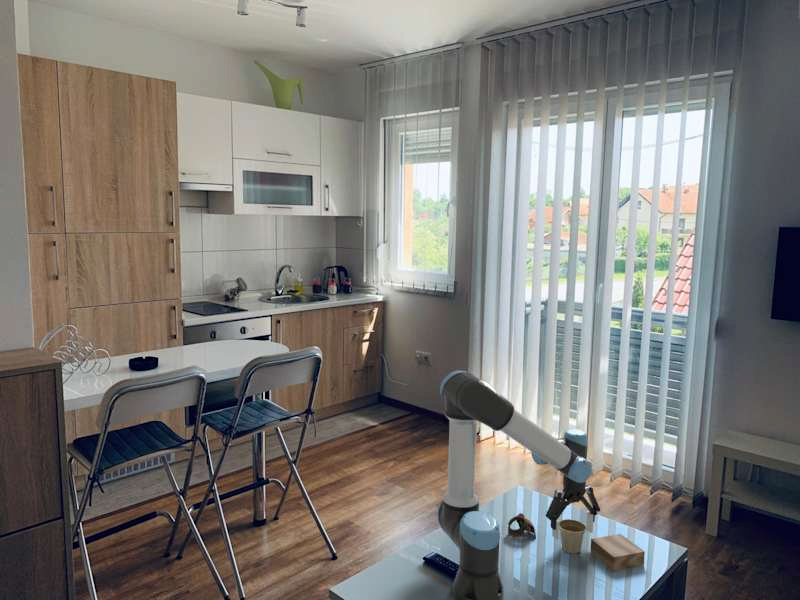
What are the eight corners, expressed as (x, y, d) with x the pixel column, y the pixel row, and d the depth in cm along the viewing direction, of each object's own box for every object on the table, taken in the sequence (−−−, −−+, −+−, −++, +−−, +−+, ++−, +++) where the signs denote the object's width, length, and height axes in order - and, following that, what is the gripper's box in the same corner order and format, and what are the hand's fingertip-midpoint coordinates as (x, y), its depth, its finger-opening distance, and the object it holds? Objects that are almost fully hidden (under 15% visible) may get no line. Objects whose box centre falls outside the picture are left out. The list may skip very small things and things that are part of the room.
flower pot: (551, 545, 207) (552, 521, 206) (572, 539, 211) (573, 516, 210) (569, 559, 199) (570, 534, 198) (591, 552, 203) (592, 528, 202)
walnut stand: (613, 571, 191) (613, 557, 191) (590, 552, 203) (591, 538, 202) (643, 565, 195) (644, 551, 195) (619, 547, 206) (620, 533, 206)
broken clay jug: (540, 544, 209) (530, 527, 206) (515, 553, 211) (505, 536, 208) (535, 520, 220) (526, 504, 217) (511, 528, 222) (502, 512, 220)
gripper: (548, 484, 195) (546, 545, 197) (612, 474, 202) (610, 533, 205) (536, 475, 202) (534, 534, 204) (598, 466, 209) (596, 523, 212)
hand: (572, 534), depth 204 cm, fingers open, 13 cm apart
